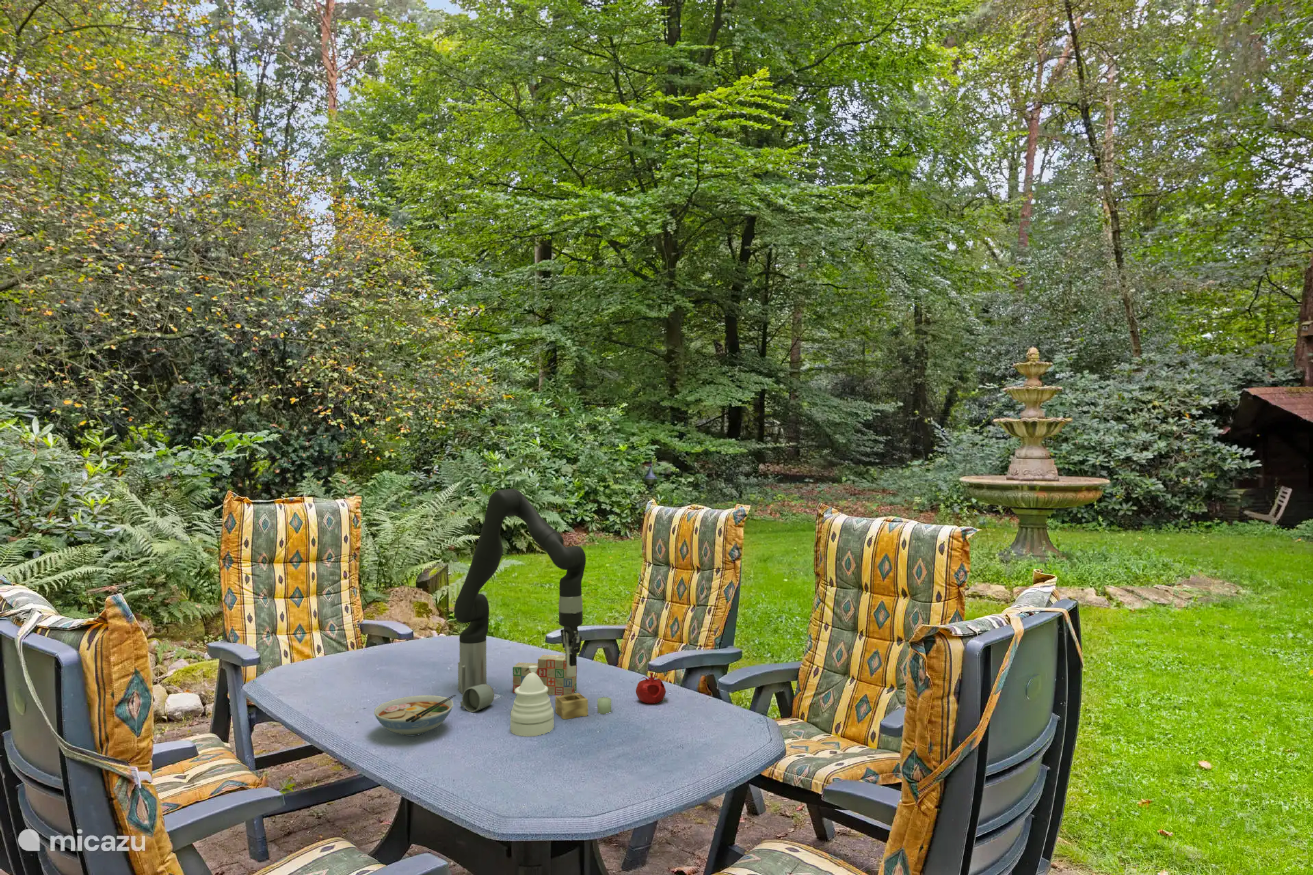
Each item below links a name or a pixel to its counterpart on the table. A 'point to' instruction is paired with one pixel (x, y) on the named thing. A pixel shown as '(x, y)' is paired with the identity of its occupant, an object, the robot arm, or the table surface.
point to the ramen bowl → (413, 713)
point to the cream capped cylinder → (570, 669)
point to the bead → (604, 705)
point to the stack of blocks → (548, 674)
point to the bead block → (571, 706)
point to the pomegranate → (650, 690)
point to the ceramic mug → (477, 697)
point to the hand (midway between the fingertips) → (571, 664)
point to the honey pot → (531, 707)
